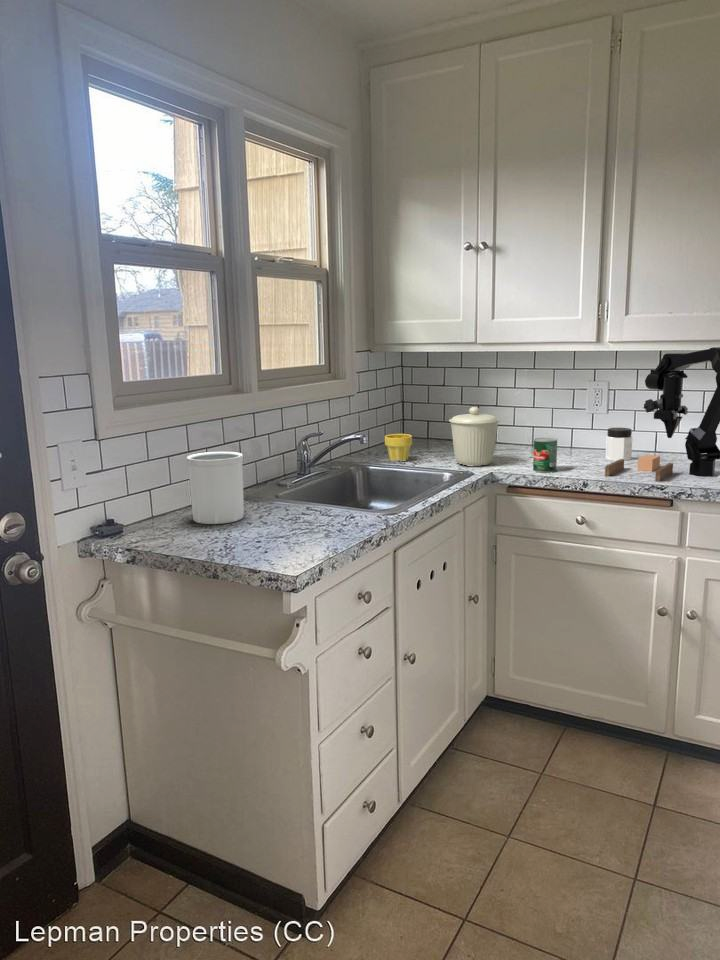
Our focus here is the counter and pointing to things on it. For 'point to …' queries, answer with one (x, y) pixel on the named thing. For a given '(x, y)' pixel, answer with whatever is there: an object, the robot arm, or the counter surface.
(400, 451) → the plant pot
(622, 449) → the jar
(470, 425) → the canister
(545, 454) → the canned tomato
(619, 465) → the brown wooden tray
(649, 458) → the peach rectangular block
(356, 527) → the counter surface
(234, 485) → the utensil holder
